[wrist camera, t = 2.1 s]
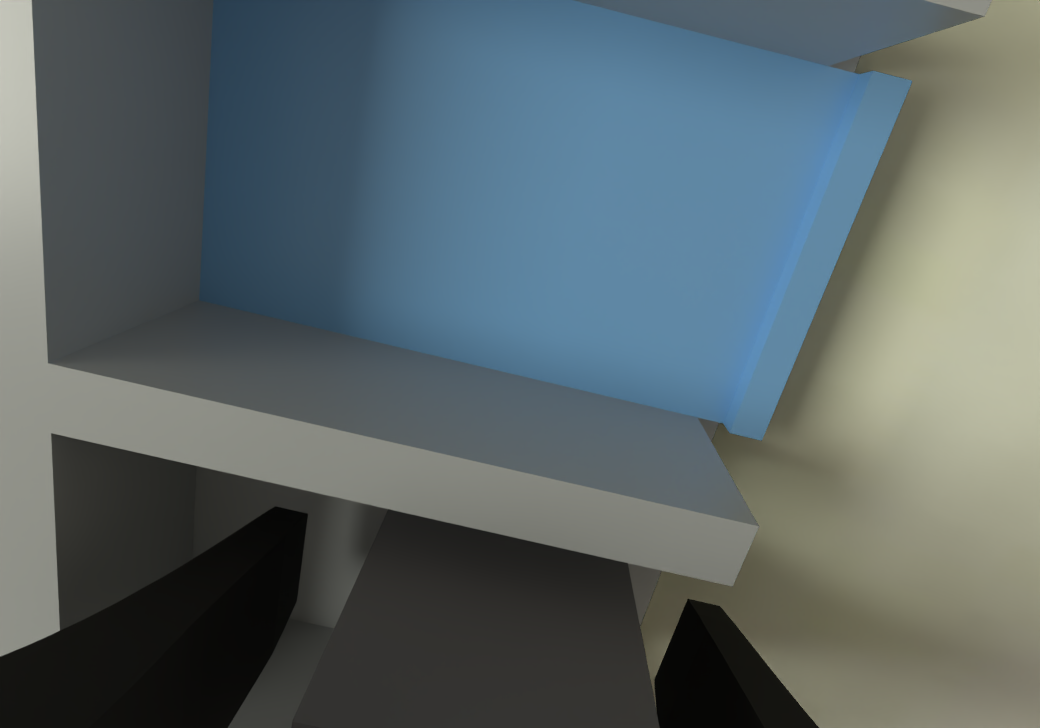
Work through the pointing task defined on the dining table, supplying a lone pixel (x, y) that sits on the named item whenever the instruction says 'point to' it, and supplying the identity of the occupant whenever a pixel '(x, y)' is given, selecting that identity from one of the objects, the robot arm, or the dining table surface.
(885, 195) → the dining table surface
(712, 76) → the cubby shelf unit
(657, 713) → the robot arm
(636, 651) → the dark grey upright block
